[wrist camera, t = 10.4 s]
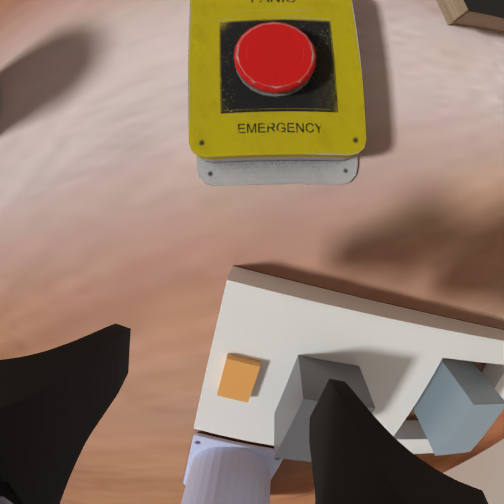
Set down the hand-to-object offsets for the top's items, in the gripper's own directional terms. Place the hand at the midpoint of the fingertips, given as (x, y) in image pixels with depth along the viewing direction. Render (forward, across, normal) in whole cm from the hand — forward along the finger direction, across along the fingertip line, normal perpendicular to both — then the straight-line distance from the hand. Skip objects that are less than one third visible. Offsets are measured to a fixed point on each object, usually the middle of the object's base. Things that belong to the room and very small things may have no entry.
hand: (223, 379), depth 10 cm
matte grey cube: (+7, -6, +5) cm, 10 cm away
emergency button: (+10, +2, -14) cm, 17 cm away
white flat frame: (+9, -12, +5) cm, 16 cm away
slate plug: (+10, -18, +5) cm, 21 cm away
